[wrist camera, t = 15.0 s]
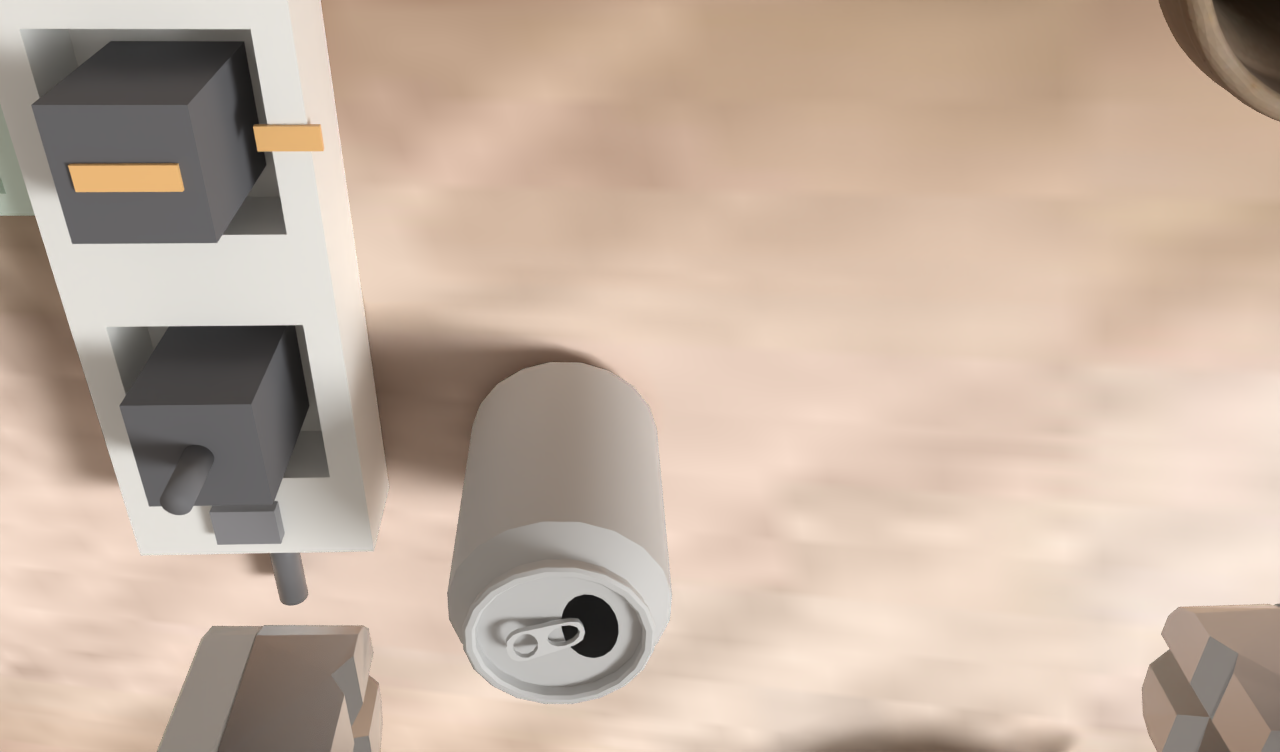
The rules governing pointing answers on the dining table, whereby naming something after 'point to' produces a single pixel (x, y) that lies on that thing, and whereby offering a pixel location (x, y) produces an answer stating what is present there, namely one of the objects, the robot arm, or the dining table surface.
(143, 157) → the dark grey block
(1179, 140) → the dining table surface
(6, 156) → the tray
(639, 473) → the can
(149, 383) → the twin plug
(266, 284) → the white power strip
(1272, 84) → the flower pot
